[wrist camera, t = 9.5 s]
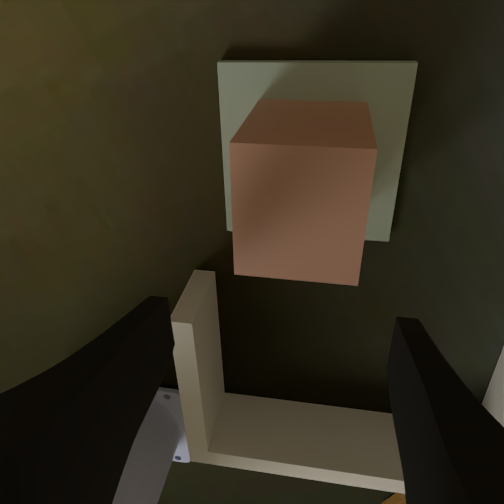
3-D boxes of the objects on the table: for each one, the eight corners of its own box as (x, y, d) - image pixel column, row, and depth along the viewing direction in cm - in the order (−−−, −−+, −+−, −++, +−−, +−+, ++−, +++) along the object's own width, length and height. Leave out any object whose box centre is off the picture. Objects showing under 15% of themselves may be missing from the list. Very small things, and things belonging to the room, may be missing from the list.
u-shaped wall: (208, 401, 31) (190, 460, 27) (194, 269, 25) (167, 321, 21) (489, 438, 28) (512, 510, 24) (548, 298, 22) (591, 364, 18)
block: (259, 205, 21) (233, 274, 16) (259, 98, 19) (229, 142, 14) (353, 211, 21) (357, 285, 16) (367, 102, 18) (377, 149, 13)
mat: (229, 225, 23) (227, 230, 22) (220, 60, 19) (217, 62, 18) (387, 235, 22) (388, 241, 21) (415, 60, 17) (418, 62, 17)
